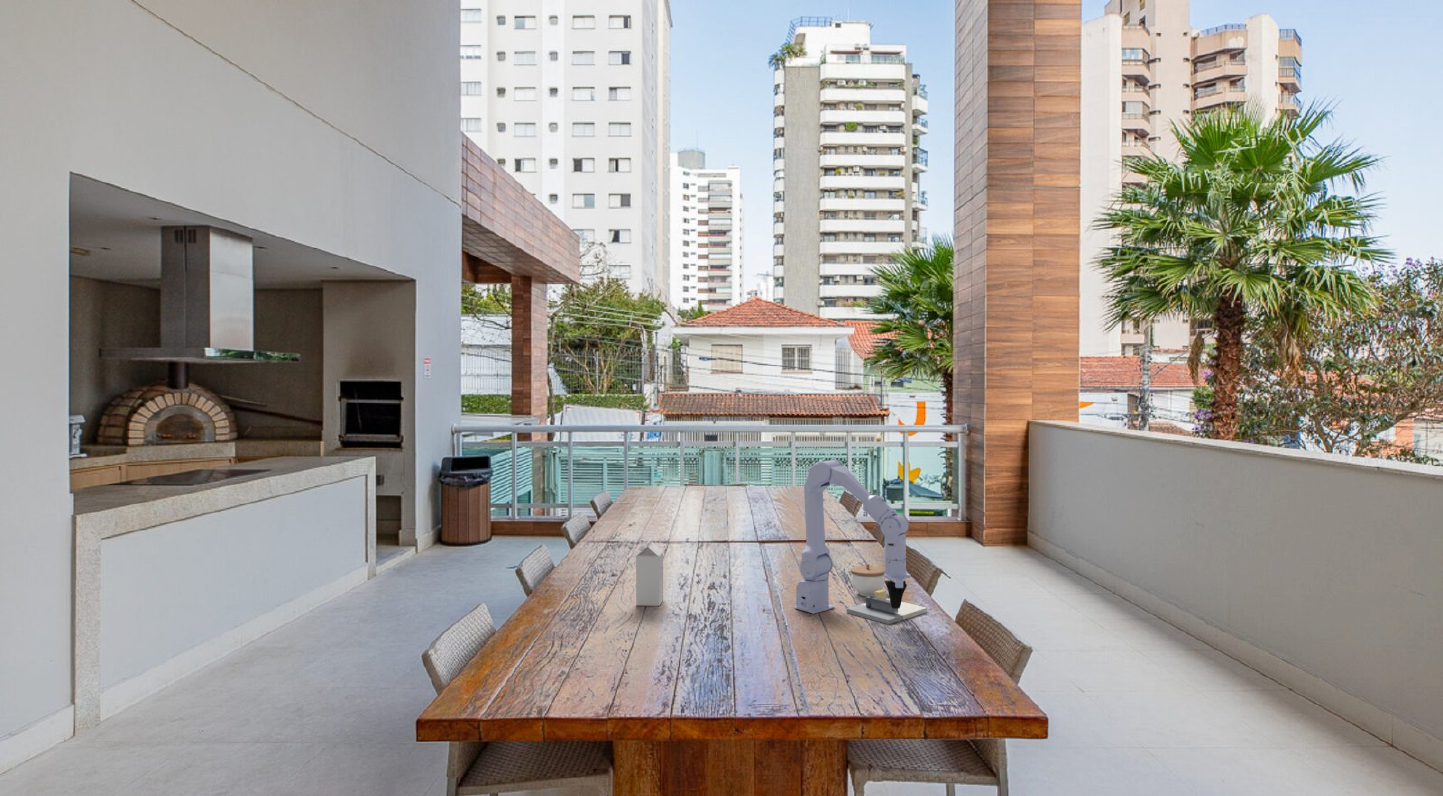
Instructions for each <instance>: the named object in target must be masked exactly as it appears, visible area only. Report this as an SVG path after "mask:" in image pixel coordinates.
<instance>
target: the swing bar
mask: <svg viewBox="0 0 1443 796" xmlns="http://www.w3.org/2000/svg"><path fill="white" fill-rule="evenodd" d="M865 603H866V607H868V608H874V609H877V610H881V611H885V612H889V613H892V614H895V613H898V608H892V606H891V603H890V600H886V599H882V598H878V597H875V596H865Z"/></svg>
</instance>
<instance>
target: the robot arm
mask: <svg viewBox="0 0 1443 796" xmlns="http://www.w3.org/2000/svg"><path fill="white" fill-rule="evenodd" d="M830 485H834V486H842V487H843V488H844V489H846V490H847V492H849V493H850V494H852V496H854V497H855V498H856V499H857V500H858V501H860V503H862V507H863V508H862V509H863V511H864V512H865V513H866V514H868V516H870V517H871V519H872V520H874V521H875V522H876V523H877V524H878V525H879V526H880V527H879V528H880V531H881V533H882V534H883V536H884V570H885V574H884V577H885V579H887V580H885V581H884V585H885V587H886V588H887V592H888V596H889V597H888V598H889V599H890V603H891V606H892V608H900V606H901V601H902V600H903V595H904V592H905V590H906V589H907V587H908V584H907V583H906V579H910V578H911V574H910V573H907V539H906V538H907V536H906V535H907V533H908V530H909V528H910V522H909V519H908V518H907V516H906V515H905V514H904V513H900V512H898V511H897V510H896V509H895V508H894V509H893V508H892V507H891V506H890V505H889V504H888V503H886V502H885V498H884V497H883V496H879V495H877V494H871V493H870V492H869V491H868V490H867V488H866V487H864V486H863V484H862V483H861V482H859V480H858V479H857V478H856V477H855V476H854V475H853V474H852V473H851V472H850V470H849V468H848V467H847V466H846V465H844V464H843V462H841V461H840V460H839V459H831V460H826V461H817V462H815V463H814V464H813V465H811V466H810V467H809V468H808V475H807V477H806V480H805V483H804V485H803V491H804V494H803V495H804V516H805V517H804V518H805V535H806V538H805V539H806V542H805V543H806V545H805V547H804V548H803V550H802V552H801V561H800V563H799V566H798V567H799V568H798V569H799V572H800V574H801V576H802V577H803V579H802V580H801V581H799V582H798V583H797V585H796V589H795V591H796V596H795V598H796V599H795V603H796V604H795V605H794V607H793V608H794V609H797V610H800V611H804V612H807V613H810V614H816V613H817V614H818V613H821V612H826V611H828V610H832V609H834V608H836V607H835V605H832V604H829V602H830V601H829V597H830V596H829V595H830V594H829V592H830V591H829V587H830V585H829V584H830V583H829V580H830V579H829V578H830V572H831V571H832V570H833V567H834V563H833V559H832V557H831V555H830V548H829V547H828V546H827V545H826V538H825V537H826V536H825V534H826V532H825V514H824V509H825V508H824V492H825V491H826V490H827V488H829V486H830ZM902 602H903V601H902Z"/></svg>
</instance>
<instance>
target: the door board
mask: <svg viewBox="0 0 1443 796" xmlns="http://www.w3.org/2000/svg"><path fill="white" fill-rule="evenodd" d="M886 593H887V591H886V589H882V590H878V591H875V597H878V598H882V599H886V600H890V597H887V594H886ZM846 613H848V614H849V615H850V614H851V615H854V616H857V617H861V618H865V619H867V620H872V621H875V622H879V623H883V624H886V625H892V624H894V623H898V622H900V621H903V620H907V619H910V618H912V617H915V616H919V615H923V614H925V613H928V608H927V607H925V606H920V605H917V604H913V603H909V602H905V601H901V606H900V608H898V613H895V614H892V613H889V612H885V611H881V610H877V609H874V608H868V607H866V602H865V603H860V604H857V605H853V606H850V607H846Z"/></svg>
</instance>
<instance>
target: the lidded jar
mask: <svg viewBox="0 0 1443 796" xmlns="http://www.w3.org/2000/svg"><path fill="white" fill-rule="evenodd" d="M884 574H885V568H883V567H880V566H876V565H875V566H873V565H870V563H866V564H865V565H857V566H856V565H855V566H853V567H851V568H850V579H851V584H852V588H853V589H854V590H855V591H856V593H858V595H860V596H862V597H866V596H875V591H878V590H883V588H884V586H885V582H884V581H886V578H885V577H884Z"/></svg>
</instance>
